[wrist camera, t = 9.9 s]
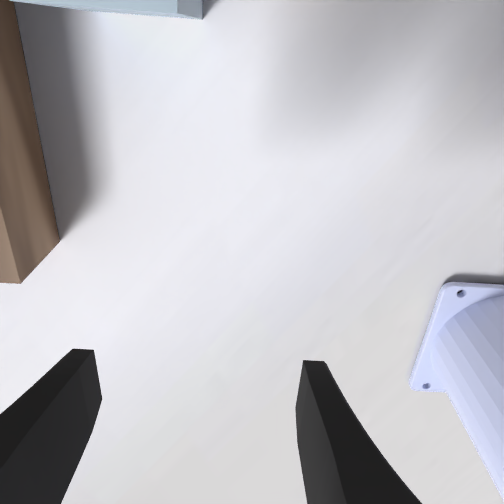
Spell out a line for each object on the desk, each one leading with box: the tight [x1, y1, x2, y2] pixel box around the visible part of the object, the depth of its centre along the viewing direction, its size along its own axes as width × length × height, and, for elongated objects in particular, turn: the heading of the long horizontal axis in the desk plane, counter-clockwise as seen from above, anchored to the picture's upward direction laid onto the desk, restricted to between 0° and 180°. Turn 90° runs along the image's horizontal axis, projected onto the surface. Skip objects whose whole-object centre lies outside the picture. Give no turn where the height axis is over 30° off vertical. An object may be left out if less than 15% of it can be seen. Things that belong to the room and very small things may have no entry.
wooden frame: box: [0, 0, 60, 284], centre depth 15 cm, size 14×19×4 cm
